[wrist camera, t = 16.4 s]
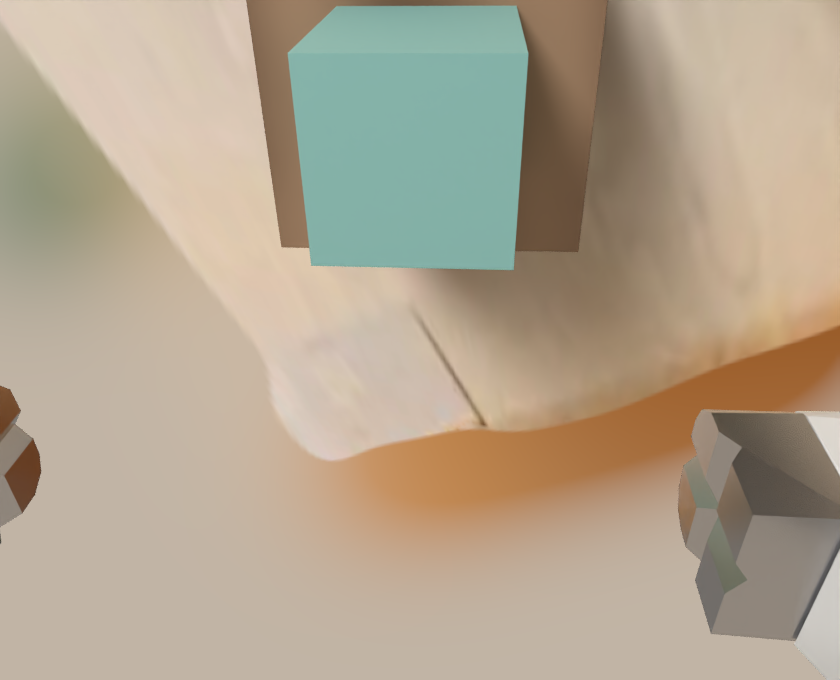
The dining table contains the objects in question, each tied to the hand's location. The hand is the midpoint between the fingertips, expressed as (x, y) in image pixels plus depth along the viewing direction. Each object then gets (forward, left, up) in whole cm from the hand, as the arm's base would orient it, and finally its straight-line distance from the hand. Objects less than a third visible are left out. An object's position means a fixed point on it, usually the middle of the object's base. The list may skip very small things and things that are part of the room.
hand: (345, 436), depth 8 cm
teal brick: (0, 0, -15) cm, 15 cm away
